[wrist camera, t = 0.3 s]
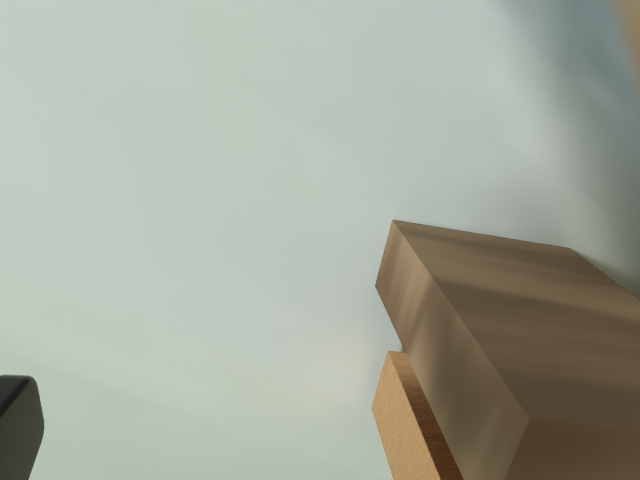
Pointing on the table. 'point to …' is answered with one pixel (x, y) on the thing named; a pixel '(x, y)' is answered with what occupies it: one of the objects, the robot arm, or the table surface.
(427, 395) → the walnut stand
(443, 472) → the C-link
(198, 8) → the table surface
